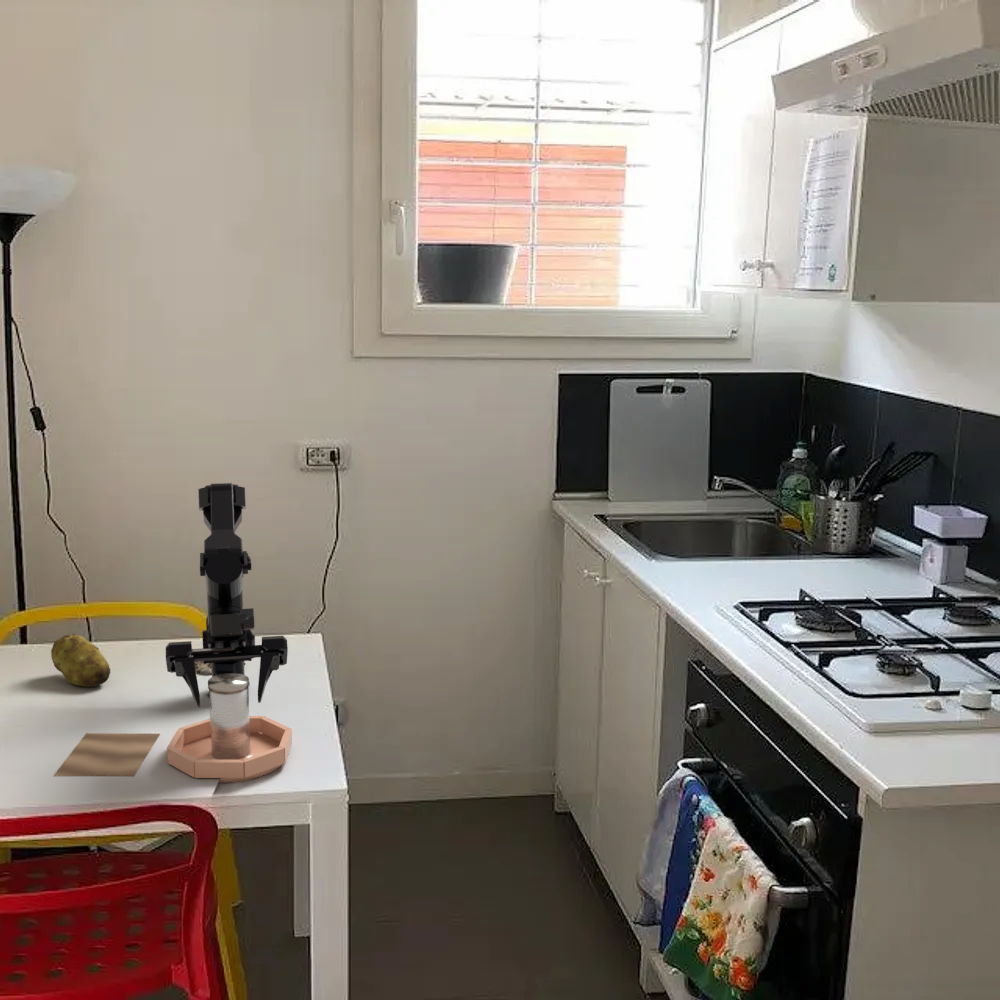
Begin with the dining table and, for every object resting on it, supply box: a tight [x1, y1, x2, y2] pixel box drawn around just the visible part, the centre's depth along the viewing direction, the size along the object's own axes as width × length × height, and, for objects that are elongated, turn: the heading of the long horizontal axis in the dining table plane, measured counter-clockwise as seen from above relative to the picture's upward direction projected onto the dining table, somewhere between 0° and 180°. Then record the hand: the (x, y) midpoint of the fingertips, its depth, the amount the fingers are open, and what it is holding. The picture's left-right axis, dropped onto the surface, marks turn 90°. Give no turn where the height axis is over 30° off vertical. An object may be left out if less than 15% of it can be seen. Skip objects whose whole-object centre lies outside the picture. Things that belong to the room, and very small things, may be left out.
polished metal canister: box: [207, 673, 251, 760], centre depth 190 cm, size 6×6×12 cm
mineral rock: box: [194, 661, 246, 676], centre depth 232 cm, size 11×4×8 cm
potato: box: [50, 633, 111, 687], centre depth 223 cm, size 8×13×8 cm, turn 35°
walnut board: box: [53, 732, 161, 777], centre depth 191 cm, size 16×12×1 cm
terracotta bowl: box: [166, 715, 293, 784], centre depth 191 cm, size 18×18×4 cm
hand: (229, 703), depth 190 cm, fingers open, 9 cm apart
